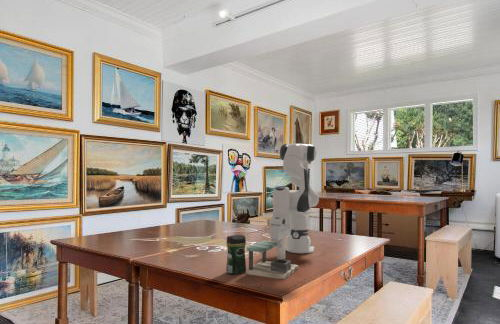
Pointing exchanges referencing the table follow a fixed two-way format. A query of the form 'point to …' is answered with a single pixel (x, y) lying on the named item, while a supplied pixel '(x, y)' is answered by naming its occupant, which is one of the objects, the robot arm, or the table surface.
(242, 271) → the coffee jar
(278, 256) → the peg
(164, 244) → the table surface
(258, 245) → the canopy socket
